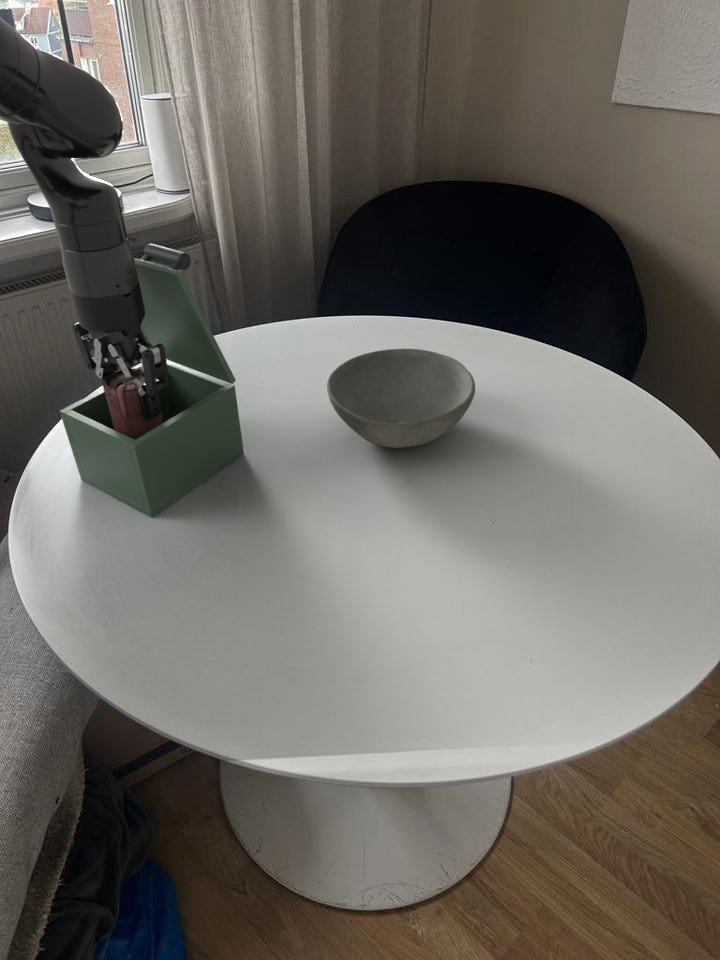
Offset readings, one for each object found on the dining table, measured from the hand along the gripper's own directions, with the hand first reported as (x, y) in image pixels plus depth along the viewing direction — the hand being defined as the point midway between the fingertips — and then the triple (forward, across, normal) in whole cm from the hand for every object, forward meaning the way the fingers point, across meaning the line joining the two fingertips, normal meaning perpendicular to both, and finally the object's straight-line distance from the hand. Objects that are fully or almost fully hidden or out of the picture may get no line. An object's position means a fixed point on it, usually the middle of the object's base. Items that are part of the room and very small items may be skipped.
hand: (134, 409), depth 89 cm
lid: (-9, 0, +8) cm, 12 cm away
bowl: (+11, +22, +29) cm, 38 cm away
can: (+10, 0, 0) cm, 10 cm away
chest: (+11, 0, +3) cm, 11 cm away
